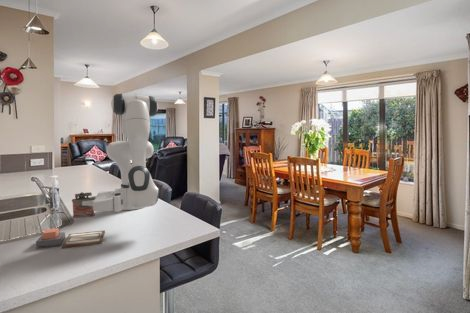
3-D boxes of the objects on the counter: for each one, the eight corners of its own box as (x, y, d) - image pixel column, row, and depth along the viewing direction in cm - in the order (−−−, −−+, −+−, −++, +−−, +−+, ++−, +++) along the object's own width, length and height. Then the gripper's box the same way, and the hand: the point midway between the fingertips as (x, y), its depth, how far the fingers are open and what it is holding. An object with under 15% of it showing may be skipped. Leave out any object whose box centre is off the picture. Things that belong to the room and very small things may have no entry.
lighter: (71, 218, 113) (70, 194, 112) (74, 216, 117) (72, 192, 116) (93, 216, 115) (92, 193, 114) (95, 214, 119) (94, 191, 118)
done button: (46, 236, 114) (45, 229, 114) (58, 235, 116) (58, 228, 115) (43, 240, 110) (42, 233, 110) (55, 239, 112) (55, 231, 111)
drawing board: (69, 236, 121) (69, 233, 121) (104, 232, 125) (104, 229, 125) (61, 248, 109) (61, 245, 108) (101, 243, 113) (101, 241, 113)
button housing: (42, 241, 116) (42, 234, 115) (65, 238, 118) (64, 231, 118) (36, 249, 108) (35, 241, 108) (60, 246, 111) (59, 238, 110)
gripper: (120, 186, 129) (87, 188, 125) (117, 197, 110) (78, 200, 106) (121, 200, 130) (87, 202, 126) (118, 212, 111) (79, 216, 106)
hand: (83, 201), depth 115 cm, fingers closed on lighter, 3 cm apart
